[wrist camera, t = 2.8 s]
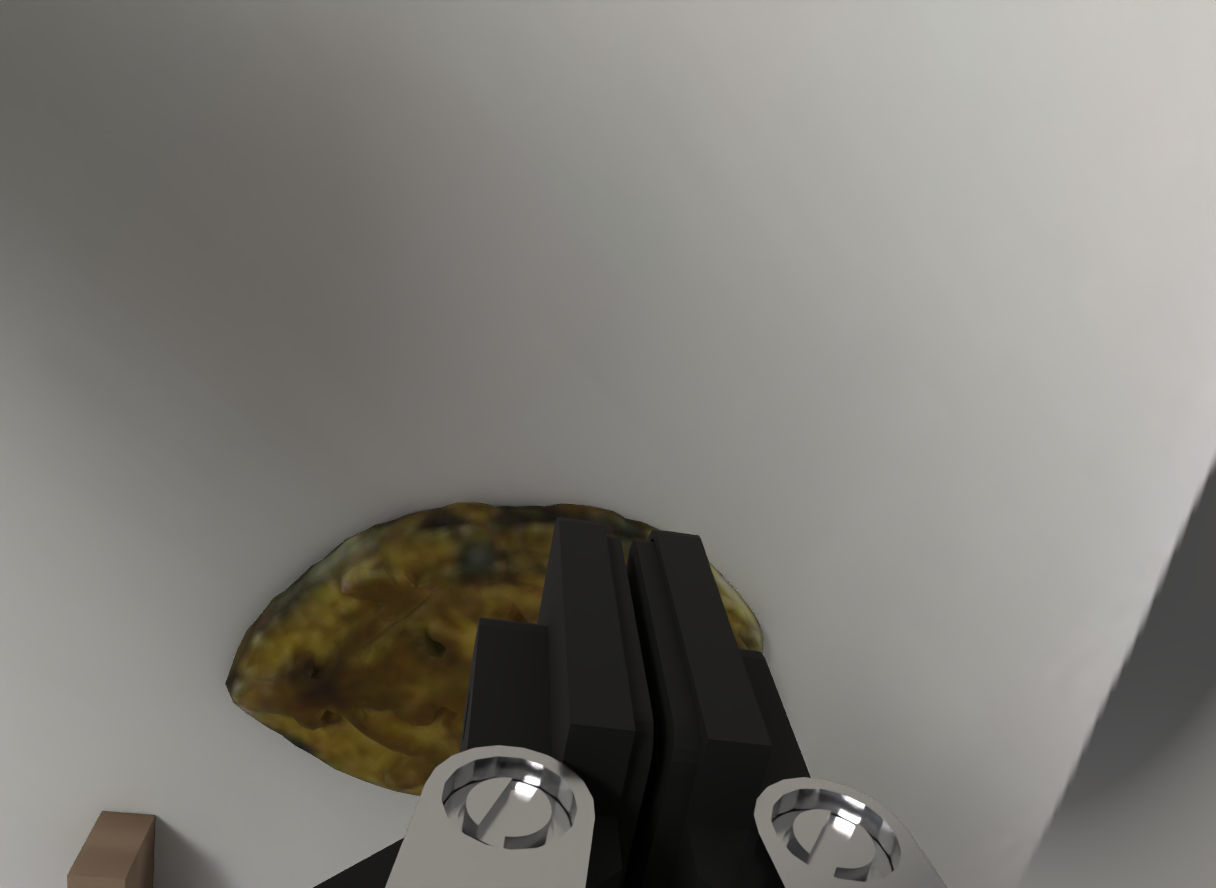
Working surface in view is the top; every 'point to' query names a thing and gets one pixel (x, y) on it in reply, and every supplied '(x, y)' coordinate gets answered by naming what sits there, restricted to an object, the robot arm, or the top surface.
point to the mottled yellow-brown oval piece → (408, 634)
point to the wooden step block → (116, 853)
